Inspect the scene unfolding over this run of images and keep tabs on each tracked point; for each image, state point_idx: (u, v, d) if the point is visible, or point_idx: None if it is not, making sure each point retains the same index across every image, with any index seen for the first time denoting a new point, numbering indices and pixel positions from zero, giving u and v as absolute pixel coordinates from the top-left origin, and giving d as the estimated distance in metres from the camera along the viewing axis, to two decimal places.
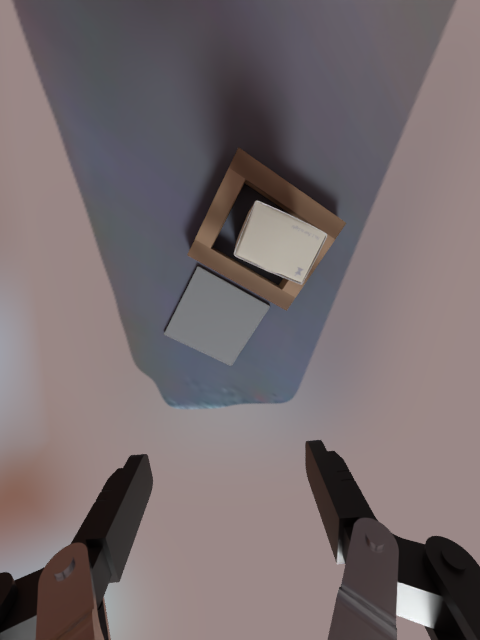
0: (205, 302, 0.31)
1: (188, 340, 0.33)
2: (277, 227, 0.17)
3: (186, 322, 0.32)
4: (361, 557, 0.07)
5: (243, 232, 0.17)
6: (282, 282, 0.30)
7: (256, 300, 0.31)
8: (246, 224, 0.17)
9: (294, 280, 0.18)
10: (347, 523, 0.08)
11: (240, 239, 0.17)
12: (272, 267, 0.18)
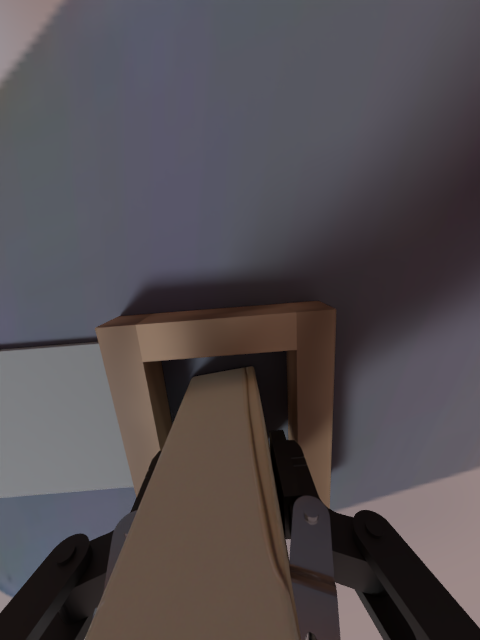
0: (54, 392, 0.14)
1: None
2: None
3: None
4: (295, 527, 0.07)
5: None
6: None
7: None
8: None
9: None
10: (292, 501, 0.09)
11: None
12: None
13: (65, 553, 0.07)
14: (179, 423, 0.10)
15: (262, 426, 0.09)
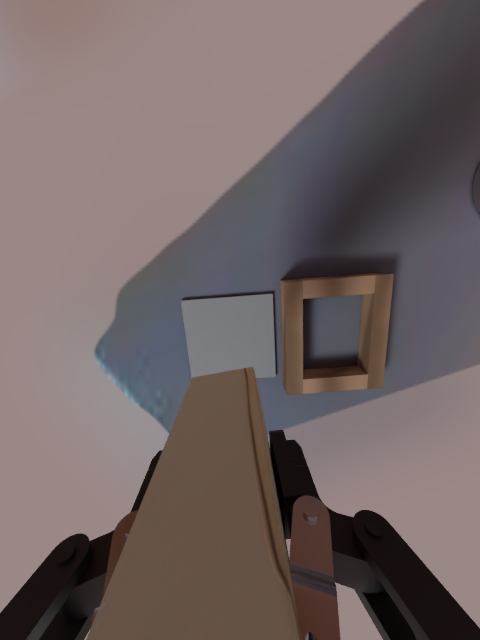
0: (242, 320, 0.28)
1: (191, 328, 0.28)
2: None
3: (209, 315, 0.28)
4: (295, 527, 0.07)
5: None
6: (304, 372, 0.30)
7: (274, 362, 0.30)
8: None
9: None
10: (291, 501, 0.09)
11: None
12: None
13: (65, 554, 0.07)
14: (179, 424, 0.10)
15: (262, 427, 0.09)
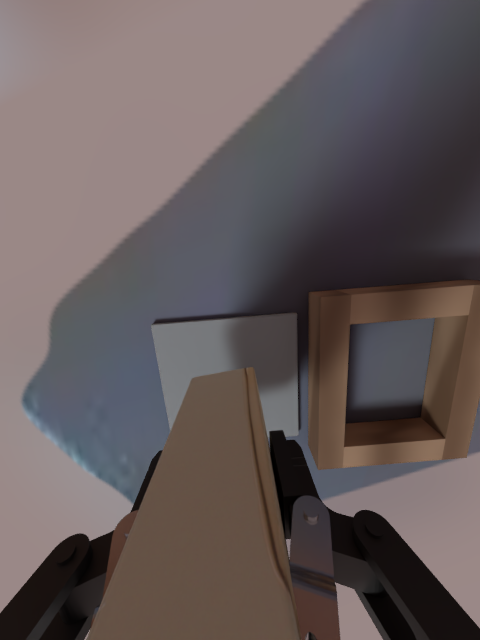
0: (248, 354, 0.18)
1: (168, 367, 0.18)
2: None
3: (197, 347, 0.18)
4: (295, 528, 0.07)
5: None
6: None
7: (296, 415, 0.19)
8: None
9: None
10: (291, 501, 0.09)
11: None
12: None
13: (65, 554, 0.07)
14: (179, 424, 0.10)
15: (262, 427, 0.09)
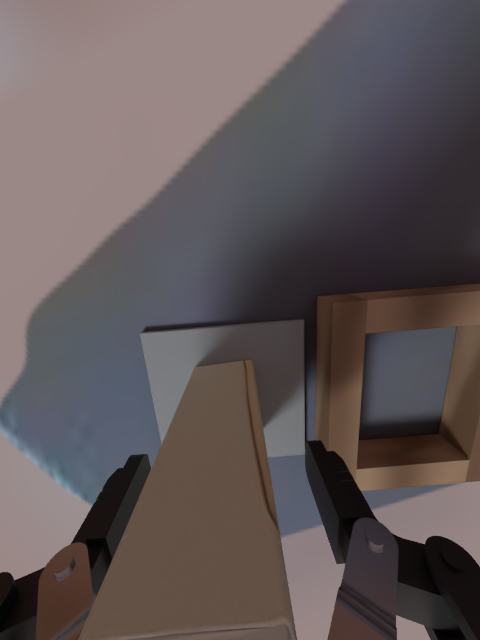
0: None
1: (160, 379, 0.16)
2: None
3: (192, 357, 0.16)
4: (361, 557, 0.07)
5: (168, 634, 0.04)
6: None
7: (302, 432, 0.18)
8: (198, 630, 0.04)
9: None
10: (347, 523, 0.08)
11: (140, 635, 0.04)
12: None
13: None
14: (184, 405, 0.11)
15: (259, 410, 0.10)
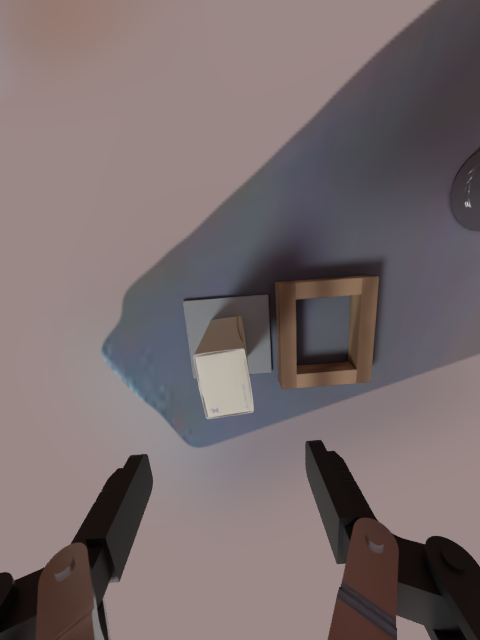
0: None
1: (192, 327, 0.30)
2: (235, 375, 0.19)
3: (209, 314, 0.30)
4: (361, 557, 0.07)
5: (215, 352, 0.18)
6: (297, 368, 0.32)
7: (269, 358, 0.32)
8: (222, 351, 0.18)
9: (206, 411, 0.20)
10: (347, 523, 0.08)
11: (208, 353, 0.18)
12: (204, 390, 0.19)
13: None
14: (209, 329, 0.25)
15: (242, 327, 0.24)
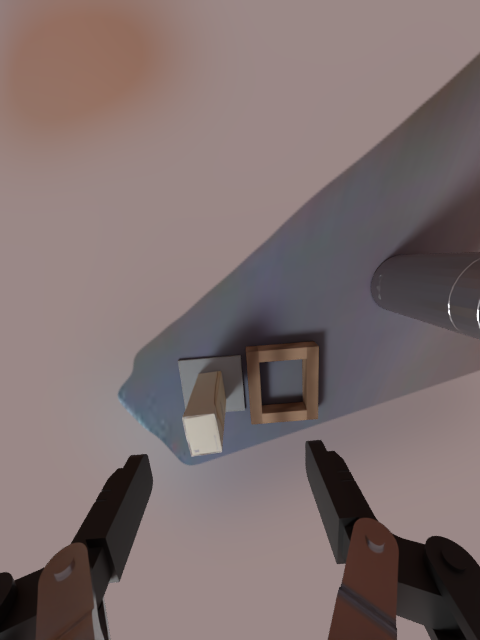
0: None
1: (185, 378, 0.41)
2: (209, 429, 0.29)
3: (197, 370, 0.40)
4: (361, 557, 0.07)
5: (196, 416, 0.29)
6: (264, 407, 0.42)
7: (243, 400, 0.42)
8: (200, 415, 0.29)
9: (191, 451, 0.30)
10: (347, 523, 0.08)
11: (192, 416, 0.29)
12: (189, 438, 0.30)
13: None
14: (195, 386, 0.36)
15: (218, 387, 0.35)
